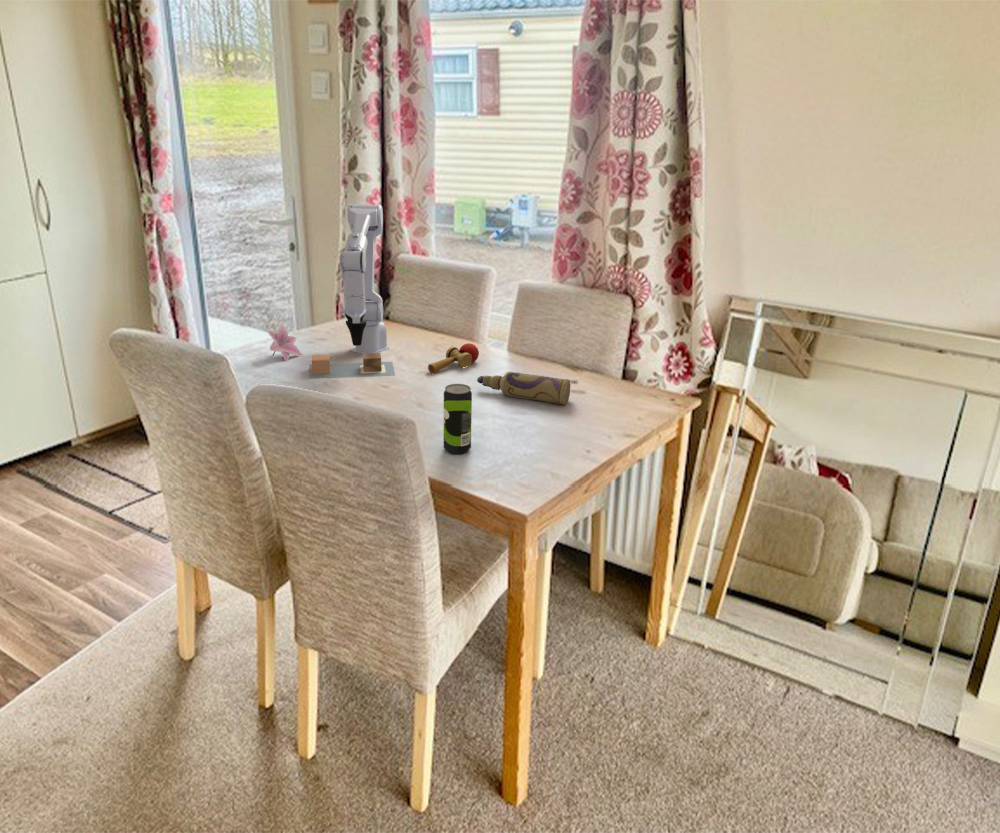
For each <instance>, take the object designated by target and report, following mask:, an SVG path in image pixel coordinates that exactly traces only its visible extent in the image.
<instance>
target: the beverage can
mask: <svg viewBox="0 0 1000 833" xmlns="http://www.w3.org/2000/svg"><path fill="white" fill-rule="evenodd" d="M471 390H472V388H471V386H469V385H468V384H463V383H452V384H448V385H446V386H445V387H444V391H443V448H444V450H445V451H446V452H447V453H448V454H451V455H463V454H466V453H468V452H469V451H470V449H471V448H472V410H473V409H472V407H473V405H472V404H473V392H472V391H471Z"/></svg>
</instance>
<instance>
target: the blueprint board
mask: <svg viewBox="0 0 1000 833" xmlns="http://www.w3.org/2000/svg"><path fill="white" fill-rule="evenodd" d="M308 368H309V369H308V379H310V380H311V379H334V378H337V379H338V378H354V377H355V378H358V377H361V378H362V377H386V376H388V377H389V376H396V374H395V368H394V362H393V361H381V368H382V371H380V372H364V367H363V362H346V363H345V362H344V363H343V362H340V363H338V362H337V363H330V373H329V374H312V363H311V364H309V367H308Z"/></svg>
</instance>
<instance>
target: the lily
mask: <svg viewBox="0 0 1000 833" xmlns="http://www.w3.org/2000/svg"><path fill="white" fill-rule="evenodd" d="M266 333H267V334H268V336H270V337H271V339H272V340H273V342H272V343H271V344H270V346H269V350H270V351H271V352H273V354H272V356H274V355H275V353H276V352H280V353H281V355H282V357H283V359H284V361H285V362H287V361H289V358H290V354H291V355H293V356H297V357H302V356H303V354H302V352H301V350H300V349H299V348H298V346H297V345H295V342H296V341H297V337H296V336H293V335H289V332H288V331H287V328H286V326H285V325H284V323H283V322H282V321H280V322H279V325H278V329H277V333H276V332H275V331H273V330H269V329H267V330H266Z"/></svg>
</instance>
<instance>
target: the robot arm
mask: <svg viewBox="0 0 1000 833" xmlns="http://www.w3.org/2000/svg"><path fill="white" fill-rule="evenodd" d="M346 210H347V211H346V212H347V213H346V216H347V222H348V226H349V228H350V230H351V233H350V234H349V235H348V236H347V239H346V241H345V242H346V243H345V248H344V250H343V252H340V255H339V267H340V271H341V278H342V281H343V302H344V303H343V304H344V308H341V309H340V314H344V316H345V318H346V319H347V320H345V325H346V326H347V328H348V330H349V334H350V338H351V342H352V345H353V346H355V347H352V348H349V351H350V352H355V353H357V354H359V355H363V353H381V352H384V351H386V350H389V349H390V347H389V346H388V344H387V343H388V342H387V340H388V339H387V338H388V336H387V327H386V324H385V323H384V322H383V319H384V305H383V302H384V300H383V298H382V296H381V295H380V294H379V293H377V292H376V291H375V290H374V289H375V256H376V255H375V254H376V253H375V250H376V248H375V247H376V240H377V237H378V236H380V235H382V233H383V228H384V227H383V226H384V225H383V224H384V212H383V211H384V210H383V206H382V205H381V204H357V203H356V204H355V203H350V204H348V206H347V209H346Z"/></svg>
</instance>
